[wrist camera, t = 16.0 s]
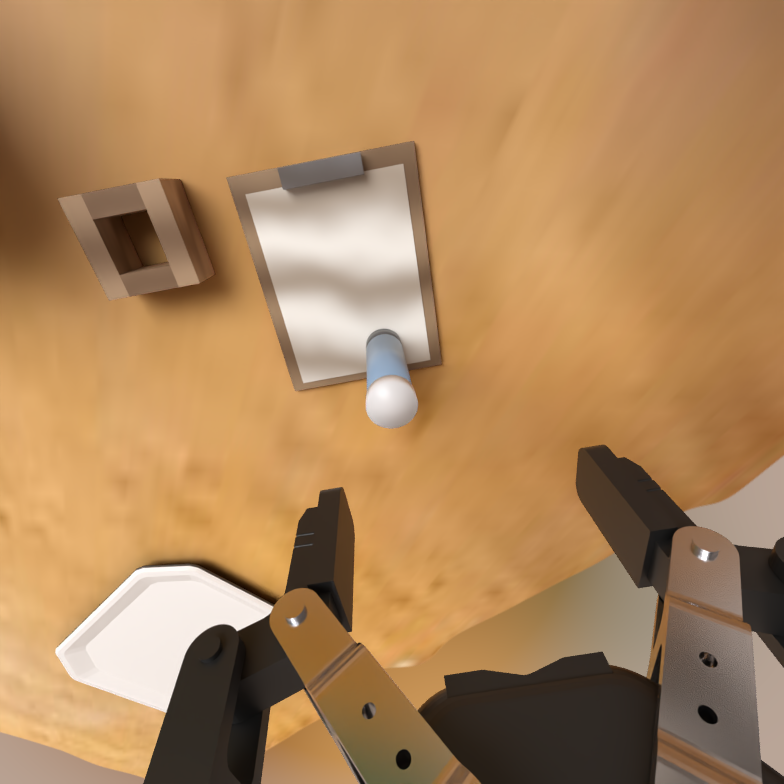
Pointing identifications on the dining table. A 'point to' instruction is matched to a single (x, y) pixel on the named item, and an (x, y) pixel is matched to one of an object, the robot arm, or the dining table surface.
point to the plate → (154, 630)
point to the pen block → (115, 249)
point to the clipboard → (341, 260)
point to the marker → (388, 381)
